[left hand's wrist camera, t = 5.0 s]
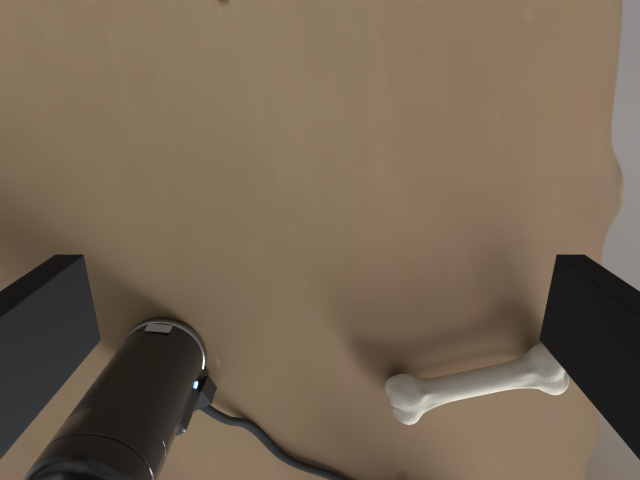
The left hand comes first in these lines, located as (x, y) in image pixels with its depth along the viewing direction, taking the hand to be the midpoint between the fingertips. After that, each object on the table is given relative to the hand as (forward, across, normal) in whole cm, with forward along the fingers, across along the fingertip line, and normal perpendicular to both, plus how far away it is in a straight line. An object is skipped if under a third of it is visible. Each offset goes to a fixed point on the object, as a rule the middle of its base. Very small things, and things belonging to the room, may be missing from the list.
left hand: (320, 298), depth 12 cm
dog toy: (+32, +18, -27) cm, 46 cm away
